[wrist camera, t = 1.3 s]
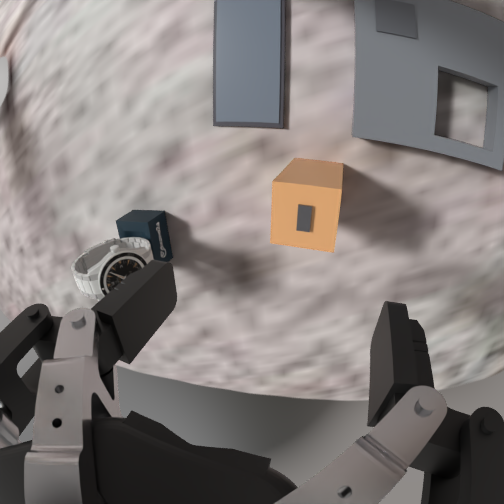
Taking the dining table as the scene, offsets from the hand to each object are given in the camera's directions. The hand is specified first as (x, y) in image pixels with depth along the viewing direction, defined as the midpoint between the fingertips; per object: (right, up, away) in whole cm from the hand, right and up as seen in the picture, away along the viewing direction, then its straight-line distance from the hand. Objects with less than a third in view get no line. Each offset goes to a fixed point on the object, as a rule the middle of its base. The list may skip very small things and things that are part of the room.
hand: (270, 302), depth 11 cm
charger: (+5, +7, +13) cm, 16 cm away
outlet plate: (+13, +16, +6) cm, 21 cm away
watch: (-11, +4, +21) cm, 24 cm away
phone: (-1, +18, +10) cm, 21 cm away
